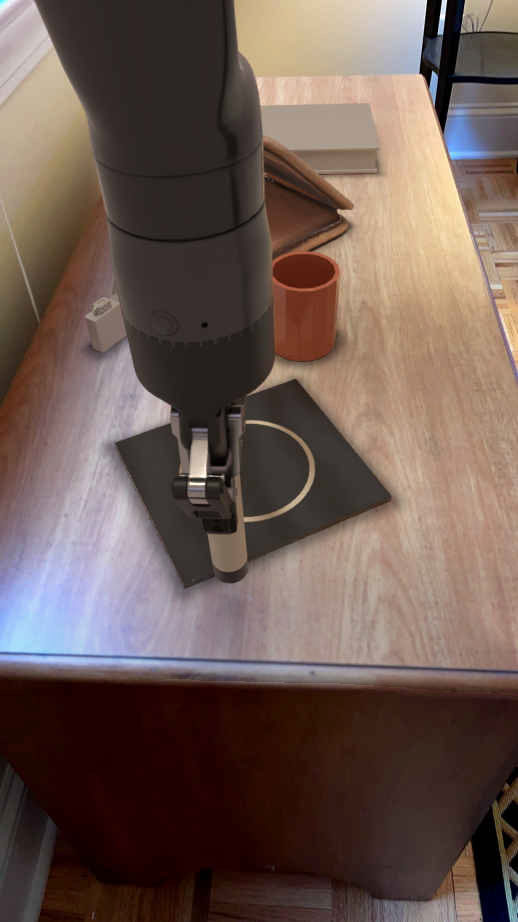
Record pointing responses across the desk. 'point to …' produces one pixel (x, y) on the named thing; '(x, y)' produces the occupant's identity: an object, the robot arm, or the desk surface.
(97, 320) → the lighter
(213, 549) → the cylinder
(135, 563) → the desk surface
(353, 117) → the book
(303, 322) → the pen cup
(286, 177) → the case
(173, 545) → the black flat square pad
